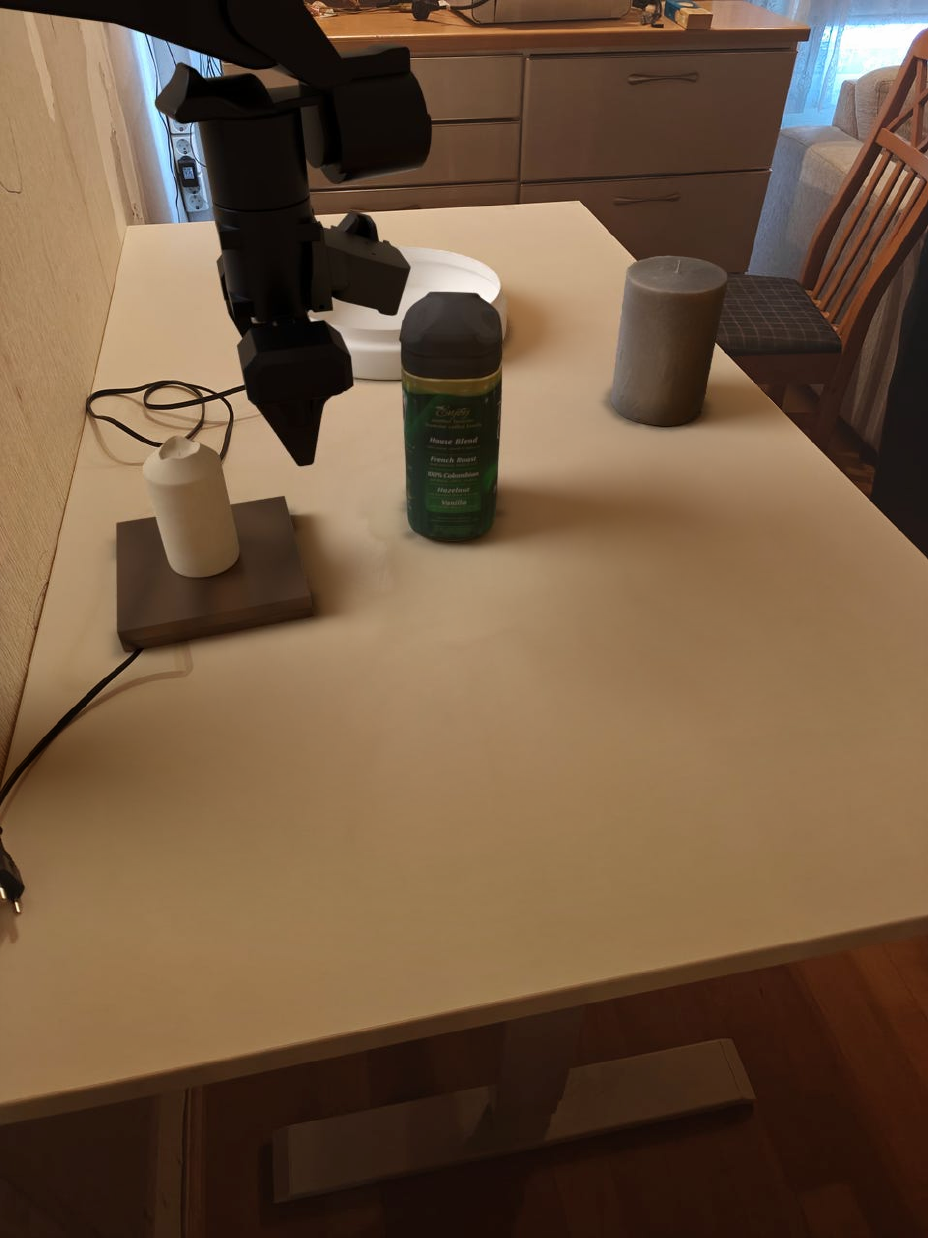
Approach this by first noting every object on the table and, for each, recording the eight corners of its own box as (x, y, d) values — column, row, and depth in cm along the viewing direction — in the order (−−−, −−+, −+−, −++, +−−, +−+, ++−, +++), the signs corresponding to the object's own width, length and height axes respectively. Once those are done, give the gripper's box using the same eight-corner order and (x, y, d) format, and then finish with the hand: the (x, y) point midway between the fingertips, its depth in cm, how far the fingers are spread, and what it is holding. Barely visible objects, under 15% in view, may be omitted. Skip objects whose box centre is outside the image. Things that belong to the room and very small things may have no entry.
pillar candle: (719, 419, 89) (752, 271, 79) (632, 433, 87) (654, 283, 77) (676, 377, 96) (701, 236, 86) (594, 389, 94) (610, 246, 84)
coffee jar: (498, 546, 73) (506, 334, 61) (404, 545, 73) (392, 333, 61) (497, 483, 80) (503, 281, 68) (411, 482, 80) (402, 280, 68)
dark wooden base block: (123, 652, 64) (116, 632, 62) (122, 541, 74) (115, 522, 72) (313, 615, 67) (310, 595, 65) (287, 514, 77) (284, 495, 75)
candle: (167, 542, 70) (136, 432, 63) (236, 530, 71) (213, 421, 65) (171, 584, 66) (138, 472, 59) (244, 571, 67) (220, 459, 61)
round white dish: (525, 297, 113) (528, 254, 109) (476, 393, 93) (477, 345, 89) (329, 278, 118) (325, 236, 114) (244, 365, 98) (236, 318, 94)
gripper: (434, 234, 46) (439, 482, 57) (363, 145, 60) (378, 360, 70) (222, 256, 44) (268, 511, 54) (197, 158, 57) (238, 378, 68)
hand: (295, 431), depth 62 cm, fingers open, 9 cm apart
